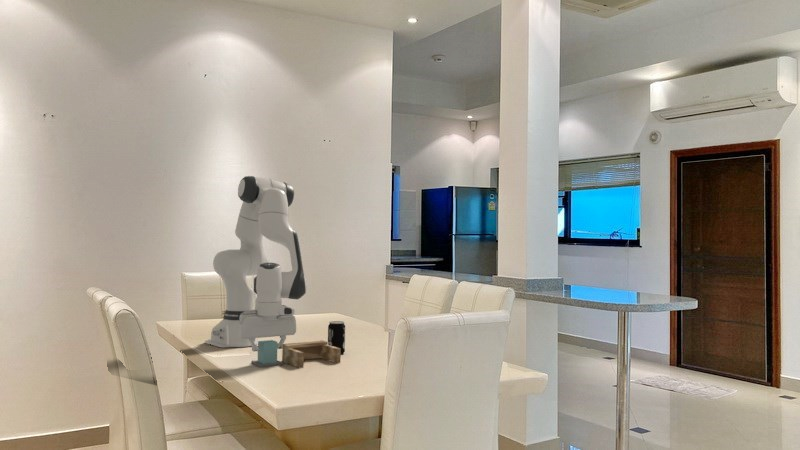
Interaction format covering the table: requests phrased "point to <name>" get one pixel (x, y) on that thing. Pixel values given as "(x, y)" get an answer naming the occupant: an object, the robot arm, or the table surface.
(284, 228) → the robot arm
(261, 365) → the pad
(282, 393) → the table surface
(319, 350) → the wooden u-shaped holder
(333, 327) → the beverage can
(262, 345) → the block
